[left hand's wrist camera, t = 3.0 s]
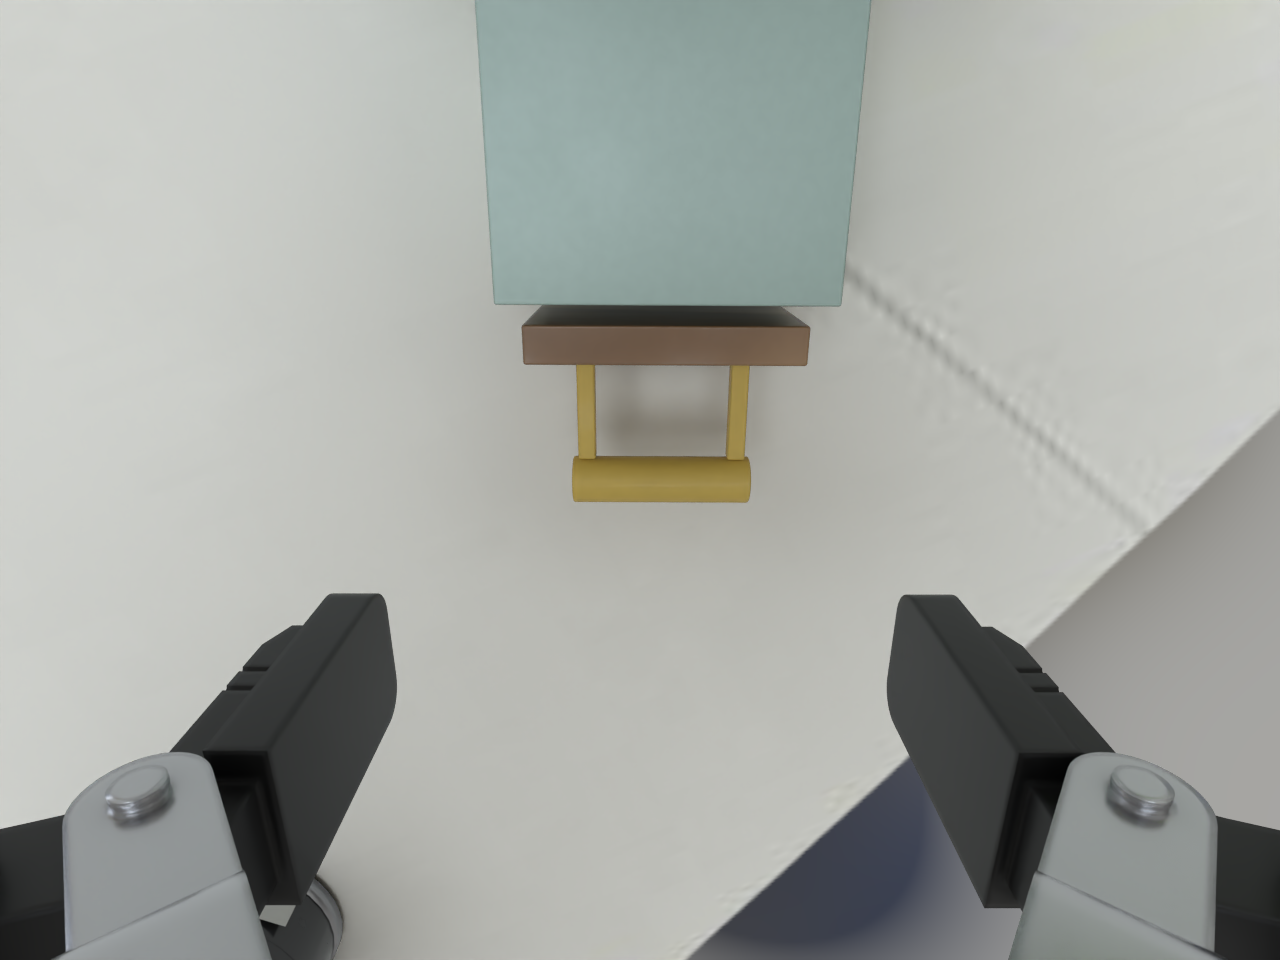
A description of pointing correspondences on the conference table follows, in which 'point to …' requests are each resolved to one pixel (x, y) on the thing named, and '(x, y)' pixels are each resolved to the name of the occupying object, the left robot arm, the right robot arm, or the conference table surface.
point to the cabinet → (670, 149)
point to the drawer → (663, 341)
